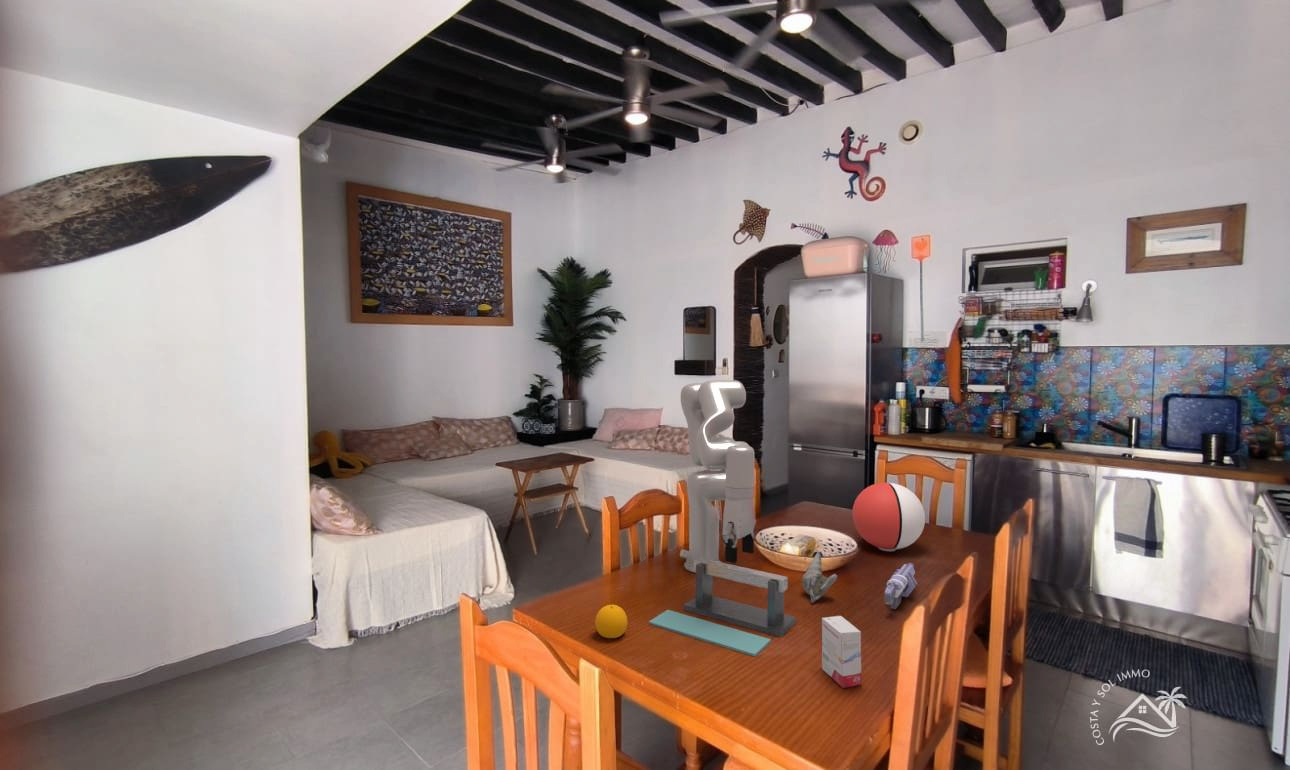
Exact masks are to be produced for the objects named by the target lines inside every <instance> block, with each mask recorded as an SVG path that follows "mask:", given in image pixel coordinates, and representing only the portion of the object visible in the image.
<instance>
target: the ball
mask: <svg viewBox="0 0 1290 770" xmlns="http://www.w3.org/2000/svg"><path fill="white" fill-rule="evenodd" d="M925 513H926V512H925V509H924V507H923V505H922V502H921V500H920V499H919V498H918V497H917V495H916V494H915V493H914V492H913V491H912V490H910V489H909V488H907V487H905V486H903V485H902V484H897V483H893V482H878V483H874V484H871V485H869V486H867V487H866V488H864V489H863V490H862V491H861V492H860V493H859V494H858V495H857V496H856V498H855V500H854V503H853V506H852V520H853V524H854V527H855V530H856V531H857V532H858V534H859V536H861V537H862V539H864V540H865V541H866V543H869V544H870V545H872V546H874V547H875V548H876V547H877V548H878V549H879V550H881V551H884V552H895V551H896V550H901V549H904V548H907V547H909V546H912V544H914V543H915V542H916V541H917V540H918V539H919V537H920V536H921V534H922V533H923V531H924V527H925V523H926V514H925Z"/></svg>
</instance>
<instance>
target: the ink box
mask: <svg viewBox="0 0 1290 770" xmlns="http://www.w3.org/2000/svg"><path fill="white" fill-rule="evenodd" d="M861 636H862V631H861V630H859V628H857V627H856V626H855V625H853V624H852V623H851V622H850V621H849V620H847V619H845V618H844V617H843V616H842V615H833V616H828V617H826V616H825V617H822V618H821V648H822V649H821V667H822V668H821V669H822V670H823V671H824V672H825V673H826V674H827V675H828V676H830V678H832V679H833V680H834V681H835V683H837V684H838V685H839V686H840V687H841V688H843V689H845V688H851V687H855V686H860V685H862V684H863V683H862V637H861Z"/></svg>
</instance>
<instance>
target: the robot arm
mask: <svg viewBox="0 0 1290 770" xmlns="http://www.w3.org/2000/svg"><path fill="white" fill-rule="evenodd" d="M746 401H747V391H746V389H745V386H744V385H743V383H742V382H740V381H739V380H734V379H730V380H729V379H727V380H724V379H722V380H721V379H718V380H716V379H715V380H708V381H704V382H695V383H689V384H686V385H684V386H683V387H682V388H681V391H680V404H681V409H682V412H683V416H684V417H685V419H686V423H687V433H688V435H687V436H688V453H689V459H690V462H691V464H692V465H693V466H695V467H704V468H705V469H707V470H698V471H697V470H696V471H695V472H692V473H690V474H689V475H688V477H687V478H686V491H687V495H688V497H687V498H688V506H689V508H688V509H689V516H688V517H689V518H688V519H689V521H688V523H689V530H688V531H689V532H688V533H689V534H688V535H689V538H688V539H689V544H688V545H689V546H688V548H689V550H686V549H681V550H680V552H679V557H680V558H683V559H685V562H684V568H685V569H686V570H687V571H689V572H692V573H695V574H696V572H695V571H694V560H696V559H697V558H704V559H709V560H713V561H717V562H722V561H721V560H720V559H719V558H720V556H719V553H720V552H719V549H720V544H719V543H720V538H719V537H720V528H719V527H720V523H719V522H720V516H719V511H718V510H717V508H716V507H715V506H714V505H713V504H712V502H713V501H714V502H715V501H724V508H723V516H722V517H723V518H722V534H721V535H722V539H723V546H724V551H725V552H724V553H725V554H724V559H725V562H726V563H727V562H728V563H732V564H736V563H738V547H737V543H738V540H740V539H741V540H742V541H741V544H742V545H741V546H742V547H741V551H742V552H743V553H746V554H754V552H755V551H754V550H755V537H756V536H755V531H756V523H757V519H756V518H755V503H754V500H755V449H754V447H752V446H750V445H749V444H748V443H747V442H745V441H741V440H740V441H738V440H737V441H735V439H734V438H733V437H729V436H716V435H718V434H721V433H722V432H724V431H726V430H728V429H729V428H731V427H732V425H733V424H734V422H735V413H734V411H733V409H740V408H742V407H744V405H745V403H746Z"/></svg>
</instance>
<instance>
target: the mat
mask: <svg viewBox="0 0 1290 770" xmlns="http://www.w3.org/2000/svg"><path fill="white" fill-rule="evenodd" d="M648 625H651V626H654V627H659V628H661V629H664V630H667V631H670V632H673V633H678V634H681V635H684V636H687V637H689V638H693V639H697V640H700V641H703V642H706V643H710V644H712V645H715V646H719V647H722V648H726V649H728V650H731V651H736V652H739V653H742V654H744V655H749V656H751V657H753V658H754V657H757V655H759V654H760V653H761V652H763V650H764V649H765V648H766V647H767V646H768V645H769V644H770V643H771V642H772V639H771V638H767V637H765V636H761V635H757V634H755V633H754V634H753V633H750V632H747V631H743V630H739V629H737V628H733V627H729V626H726V625H723V624H719V623H715V622H712V621H709V620H705V619H700V618H698V617H695V616H691V615H687V614H684V613H680V612H677V611H674V610H670V609H667V610H665V611H663V612H662V613H660V614H658V615H657V616H655V617H654V618H653V619H651V620H649V621H648Z"/></svg>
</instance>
